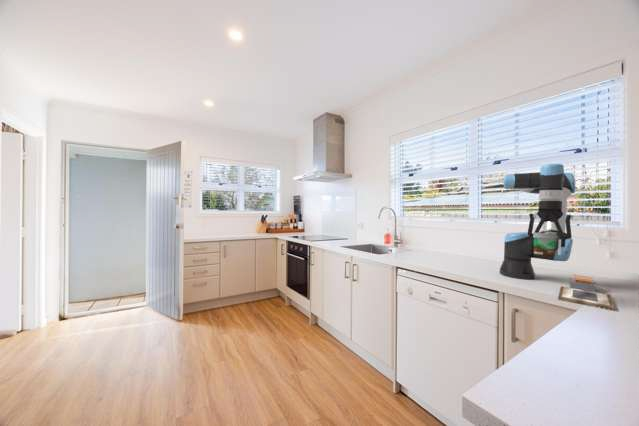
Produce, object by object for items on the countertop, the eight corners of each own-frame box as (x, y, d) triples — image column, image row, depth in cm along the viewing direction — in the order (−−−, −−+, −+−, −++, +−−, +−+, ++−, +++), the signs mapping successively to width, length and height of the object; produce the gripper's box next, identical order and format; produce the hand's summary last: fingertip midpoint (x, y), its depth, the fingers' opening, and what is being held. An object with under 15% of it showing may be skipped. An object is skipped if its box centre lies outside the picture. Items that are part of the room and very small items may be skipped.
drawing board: (558, 299, 104) (558, 296, 104) (560, 288, 118) (560, 285, 118) (614, 310, 94) (614, 307, 94) (609, 297, 108) (610, 294, 108)
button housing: (570, 288, 119) (570, 281, 119) (570, 284, 125) (570, 278, 124) (595, 292, 113) (595, 285, 113) (594, 288, 119) (595, 281, 119)
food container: (549, 258, 107) (550, 234, 106) (532, 255, 112) (533, 232, 112) (564, 256, 112) (565, 233, 112) (546, 253, 118) (548, 231, 117)
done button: (572, 284, 119) (573, 277, 119) (573, 281, 123) (573, 274, 123) (593, 288, 114) (593, 280, 114) (592, 284, 119) (592, 277, 119)
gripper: (519, 200, 116) (517, 250, 117) (582, 200, 102) (579, 258, 102) (523, 200, 121) (521, 249, 122) (583, 200, 107) (580, 255, 107)
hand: (547, 253), depth 112 cm, fingers closed on food container, 7 cm apart
